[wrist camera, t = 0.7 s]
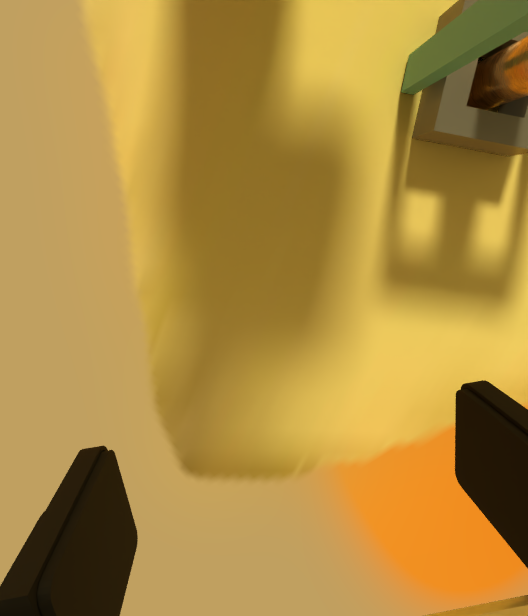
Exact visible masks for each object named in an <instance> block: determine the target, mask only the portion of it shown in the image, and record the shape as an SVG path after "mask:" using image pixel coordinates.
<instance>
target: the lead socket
mask: <svg viewBox="0 0 528 616" xmlns="http://www.w3.org/2000/svg"><path fill="white" fill-rule="evenodd" d="M477 1H478V0H459V1H457V2H456V3H455V4H454V5H453V6H452V7H450V8H449V9H448V10H447V11H446V12H445V13H443V14H442V15H441V16H440V17H439V21H438V26H437V30H436V33H438V32H439V31H440V30H441V29H443V28H444V27H445V26H446V25H448V24H449V23H450V22H451V21H453V20H454V19H455V18H456V17H458V16H459V15H460V14H462V13H463V12H464V11H465V10H467V9H468V8H469V7H470V6H472V5H473V4H474V3H475V2H477ZM527 36H528V32H523V33H521V34H520V35H518V36H516V37H514V38H513V39H511V40H509V41H507V42H506V43H504V44H502V45H500V46H499V47H497V48H495V49H493V50H492V51H490V52H488V53H486V54H484V55H483V56H481V57H483V58H488V57H490V56H492V55H494V54H496V53H497V52H499V51H501V50H503V49H505V48H507V47H508V46H510V45H512V44H514V43H516V42H518V41H519V40H521V39H523V38H525V37H527ZM477 62H478V58H477V59H476V60H474V61H472V62H470V63H469V64H467V65H465V66H463V67H462V68H460V69H458V70H456V71H454V72H453V73H451V74H449V75H447V76H446V77H444V78H442V79H440V80H439V81H437V82H435V83H433V84H432V85H430V86H428V87H426V88H425V89H423V91H422V96H421V100H420V105H419V109H418V113H417V118H416V122H415V127H414V131H413V135H412V138H414V139H420V140H425V141H430V142H435V143H440V144H446V145H451V146H456V147H461V148H467V149H472V150H477V151H482V152H488V153H493V154H498V155H503V156H513V155H519V154H525V153H528V96H525V97H522V98H520V99H517V100H514V101H511V102H508V103H505V104H502V105H500V106H499V108H498V111H497V112H492V111H487V110H483V109H478V108H473V107H468V106H466V105H467V101H468V98H469V94H470V90H471V86H472V82H473V78H474V74H475V70H476V66H477Z"/></svg>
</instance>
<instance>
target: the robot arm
mask: <svg viewBox="0 0 528 616" xmlns="http://www.w3.org/2000/svg"><path fill="white" fill-rule="evenodd" d="M455 439H456V440H455V474H456V477H457V480H458V482H459V484H460V485H461V487H462V488H463V489H464V491H465V492H466V493H467V494H468V496H469V497H470V498H471V499H472V500H473V502H474V503H475V504H476V505H477V506H478V508H479V509H480V510H481V511H482V513H483V514H484V515H485V516H486V518H487V519H488V520H489V521H490V523H491V524H492V525H493V526H494V528H495V529H496V530H497V531H498V532H499V534H500V535H501V536H502V537H503V538H504V540H505V541H506V542H507V543H508V545H509V546H510V547H511V548H512V550H513V551H514V552H515V553H516V554H517V556H518V557H519V558H520V559H521V561H522V562H523V563H524V564H525V565H526V567H527V568H528V410H527V409H526V408H525V407H523V406H522V405H520V404H519V403H518V402H516V401H515V400H513V399H512V398H510V397H509V396H508V395H506V394H505V393H503V392H502V391H500V390H499V389H498V388H496V387H495V386H493V385H492V384H491V383H489V382H487V381H477V382H472V383H466V384H463V385H462V387H461V390H458V391H457V393H456V435H455ZM136 547H137V530H136V526H135V523H134V519H133V516H132V512H131V508H130V505H129V501H128V498H127V494H126V491H125V487H124V484H123V480H122V477H121V473H120V470H119V466H118V463H117V459H116V456H115V453H114V451H113V450H109V451H108V450H107V448H106V447H105V446H99V447H93V448H87V449H82V450H80V451H79V453H78V455H77V456H76V458H75V460H74V462H73V463H72V465H71V467H70V469H69V470H68V472H67V474H66V476H65V477H64V479H63V481H62V483H61V484H60V486H59V488H58V490H57V492H56V493H55V495H54V497H53V498H52V500H51V502H50V504H49V506H48V507H47V509H46V511H45V512H44V513H43V514H42V515H41V516H40V518H39V520H38V521H37V523H36V525H35V527H34V528H33V530H32V532H31V534H30V535H29V537H28V539H27V541H26V542H25V544H24V546H23V548H22V549H21V551H20V553H19V555H18V556H17V558H16V560H15V562H14V563H13V565H12V567H11V569H10V570H9V572H8V574H7V576H6V577H5V579H4V581H3V583H2V584H1V586H0V616H119V615H120V611H121V608H122V604H123V600H124V596H125V591H126V588H127V584H128V579H129V576H130V572H131V567H132V564H133V560H134V555H135V552H136ZM425 616H528V595H525V596H520V597H515V598H510V599H505V600H500V601H495V602H490V603H485V604H480V605H475V606H469V607H464V608H459V609H454V610H450V611H444V612H439V613H435V614H429V615H425Z"/></svg>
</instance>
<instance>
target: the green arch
mask: <svg viewBox="0 0 528 616" xmlns="http://www.w3.org/2000/svg"><path fill="white" fill-rule="evenodd" d="M523 32H528V0H478V1H477V2H475V3H474V4H473V5H472V6H470V7H469V8H468V9H467V10H465V11H464V12H463V13H462V14H460V15H459V16H458V17H456V18H455V19H454V20H453V21H451V22H450V23H449V24H448V25H446V26H445V27H444V28H443V29H441V30H440V31H439V32H438V33H436V34H435V35H434V36H433V37H431V38H430V39H429V40H428V41H426V42H425V43H424V44H423V45H421V46H420V47H419V48H417V49H416V50H415V51H414V52H412V53H411V54H410V55H409V58H408V63H407V67H406V72H405V77H404V81H403V86H402V90H401V92H403V93H408V94H412V95H414V94H416V93H417V92H419V91H421V90H423V89H425V88H426V87H428V86H430V85H432V84H433V83H435V82H437V81H439V80H440V79H442V78H444V77H446V76H447V75H449V74H451V73H453V72H454V71H456V70H458V69H460V68H462V67H463V66H465V65H467V64H469V63H470V62H472V61H474V60H476V59H477V58H479V57H481V56H483V55H484V54H486V53H488V52H490V51H492V50H493V49H495V48H497V47H499V46H500V45H502V44H504V43H506V42H507V41H509V40H511V39H513V38H514V37H516V36H518V35H520V34H521V33H523Z"/></svg>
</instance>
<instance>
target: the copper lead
mask: <svg viewBox="0 0 528 616" xmlns="http://www.w3.org/2000/svg"><path fill="white" fill-rule="evenodd" d="M525 96H528V36H527V37H525V38H523V39H521V40H519V41H518V42H516V43H514V44H512V45H510V46H508V47H507V48H505V49H503V50H501V51H499V52H497V53H496V54H494V55H492V56H490V57H488V58H487V59H485V60H483V61H481V62H479V63H477V66H476V70H475V74H474V78H473V82H472V86H471V90H470V94H469V98H468V101H467V105H466V106H468V107H473V108H478V109H483V110H488V109H491V108H494V107H497V106H500V105H502V104H505V103H508V102H511V101H514V100H517V99H520V98H522V97H525Z"/></svg>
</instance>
